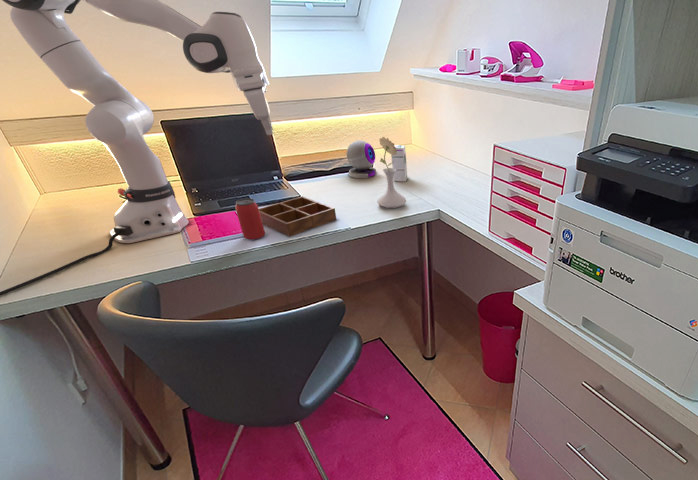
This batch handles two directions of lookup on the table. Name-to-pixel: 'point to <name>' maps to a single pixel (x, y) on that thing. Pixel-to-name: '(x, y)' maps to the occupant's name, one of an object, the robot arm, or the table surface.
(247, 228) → the beer can
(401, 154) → the syrup box
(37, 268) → the table surface
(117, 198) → the table surface
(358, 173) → the webcam
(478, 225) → the table surface
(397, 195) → the flower in vase
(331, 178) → the table surface
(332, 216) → the tray
